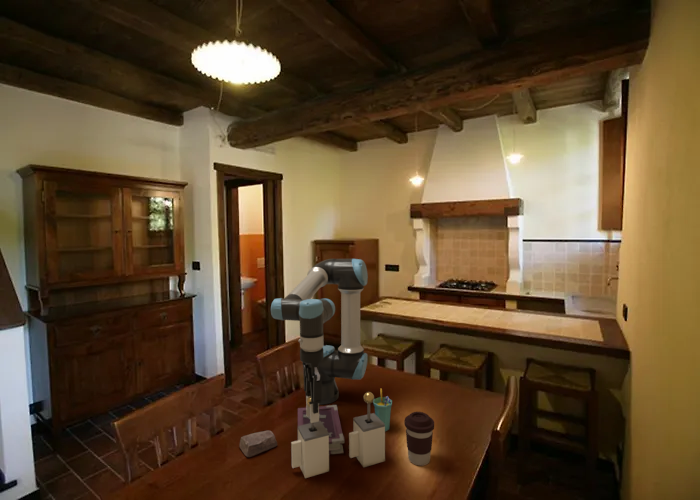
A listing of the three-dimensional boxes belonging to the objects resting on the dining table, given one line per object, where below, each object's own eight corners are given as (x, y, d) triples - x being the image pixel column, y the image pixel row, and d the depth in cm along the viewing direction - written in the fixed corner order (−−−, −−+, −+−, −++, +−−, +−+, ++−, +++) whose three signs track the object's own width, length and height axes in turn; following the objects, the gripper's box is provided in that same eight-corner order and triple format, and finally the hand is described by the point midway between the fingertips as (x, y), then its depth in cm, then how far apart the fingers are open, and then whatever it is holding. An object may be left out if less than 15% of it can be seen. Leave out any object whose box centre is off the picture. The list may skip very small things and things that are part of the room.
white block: (345, 455, 123) (345, 419, 122) (373, 447, 127) (373, 412, 127) (355, 470, 116) (354, 432, 115) (384, 460, 120) (384, 424, 119)
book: (344, 454, 125) (344, 440, 124) (297, 458, 122) (297, 444, 122) (336, 416, 150) (336, 404, 149) (297, 419, 147) (297, 407, 147)
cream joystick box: (289, 465, 118) (288, 428, 117) (320, 456, 122) (320, 420, 122) (295, 481, 111) (294, 441, 110) (328, 471, 115) (328, 432, 114)
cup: (399, 437, 133) (399, 398, 133) (380, 440, 131) (380, 401, 131) (386, 418, 147) (386, 382, 146) (368, 421, 145) (368, 385, 144)
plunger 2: (360, 450, 123) (359, 390, 122) (371, 447, 125) (371, 388, 124) (365, 458, 119) (365, 396, 118) (378, 454, 121) (377, 394, 120)
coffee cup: (428, 473, 114) (428, 427, 113) (399, 462, 119) (399, 419, 118) (438, 456, 122) (438, 413, 121) (411, 446, 128) (411, 406, 127)
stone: (268, 435, 136) (268, 423, 135) (279, 447, 128) (279, 435, 128) (237, 447, 128) (237, 434, 128) (247, 460, 121) (247, 447, 121)
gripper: (293, 342, 121) (294, 409, 122) (308, 358, 106) (309, 434, 107) (314, 339, 124) (315, 404, 125) (331, 354, 109) (332, 428, 110)
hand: (312, 418), depth 116 cm, fingers closed on plunger 1, 4 cm apart
